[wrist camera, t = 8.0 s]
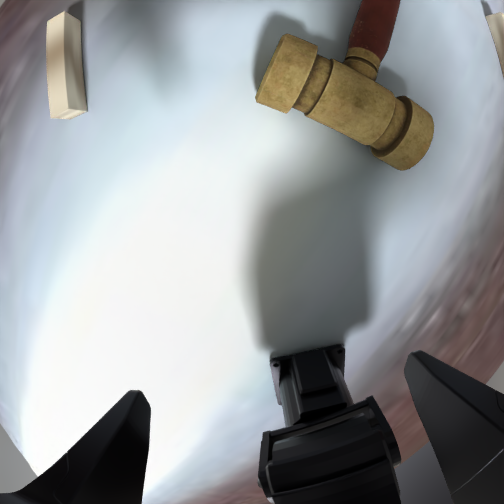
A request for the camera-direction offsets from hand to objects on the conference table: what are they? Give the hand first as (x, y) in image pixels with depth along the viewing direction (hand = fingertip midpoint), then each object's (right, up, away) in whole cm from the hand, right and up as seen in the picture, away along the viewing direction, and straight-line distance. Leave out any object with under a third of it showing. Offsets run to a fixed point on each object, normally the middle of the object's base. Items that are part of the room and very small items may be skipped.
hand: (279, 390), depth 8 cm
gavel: (+7, +21, +6) cm, 23 cm away
